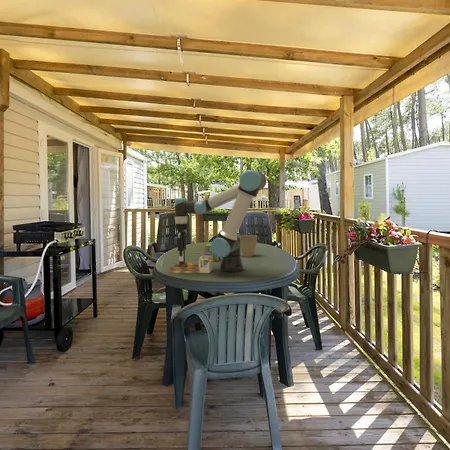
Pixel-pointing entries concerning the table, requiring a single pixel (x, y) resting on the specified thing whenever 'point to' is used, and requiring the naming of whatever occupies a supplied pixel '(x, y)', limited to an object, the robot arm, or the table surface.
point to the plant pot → (248, 244)
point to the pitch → (184, 269)
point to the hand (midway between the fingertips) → (182, 260)
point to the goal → (205, 267)
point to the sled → (182, 263)
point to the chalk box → (210, 254)
